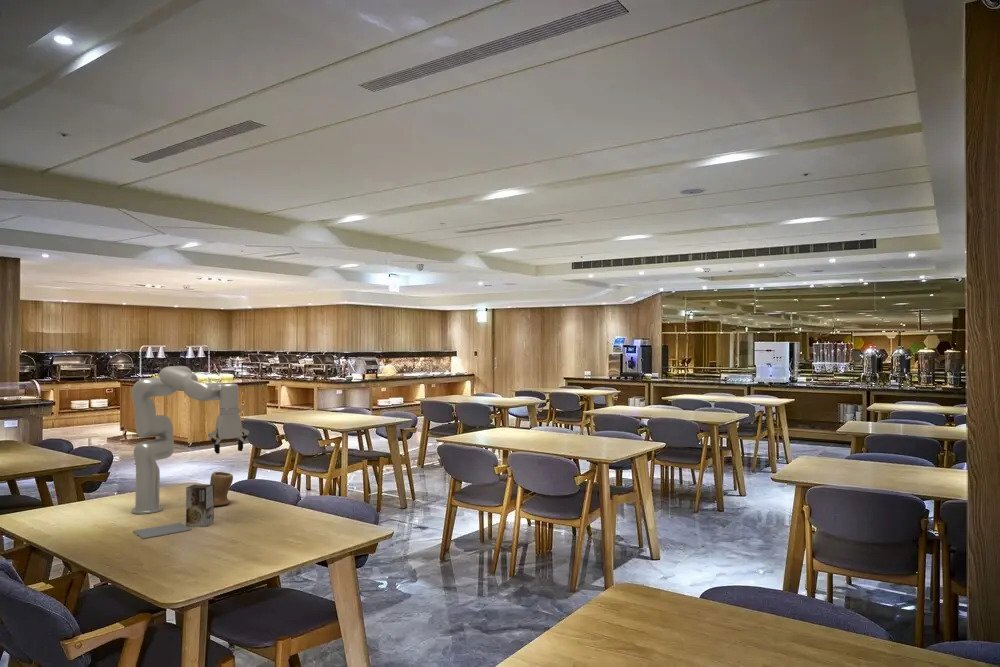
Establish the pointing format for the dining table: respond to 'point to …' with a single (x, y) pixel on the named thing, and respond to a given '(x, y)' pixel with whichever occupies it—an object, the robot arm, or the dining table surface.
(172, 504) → the dining table surface
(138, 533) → the mat
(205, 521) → the coffee box
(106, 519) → the dining table surface
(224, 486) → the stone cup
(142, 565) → the dining table surface
